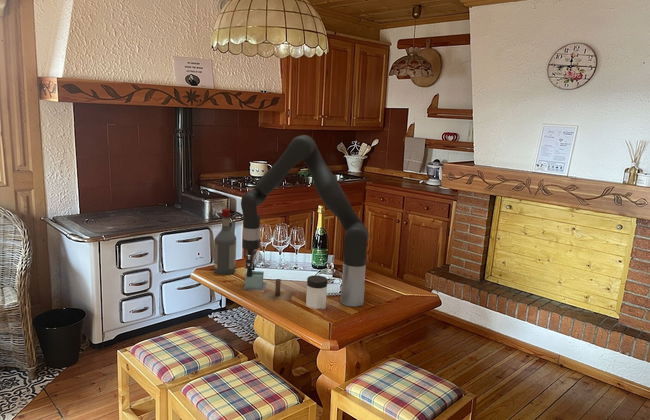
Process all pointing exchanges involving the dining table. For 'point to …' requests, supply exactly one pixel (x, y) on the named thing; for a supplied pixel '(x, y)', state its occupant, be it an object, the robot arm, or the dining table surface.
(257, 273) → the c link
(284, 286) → the dining table surface
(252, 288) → the trivet
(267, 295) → the post stand
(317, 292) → the jar
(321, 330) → the dining table surface
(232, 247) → the liquor
